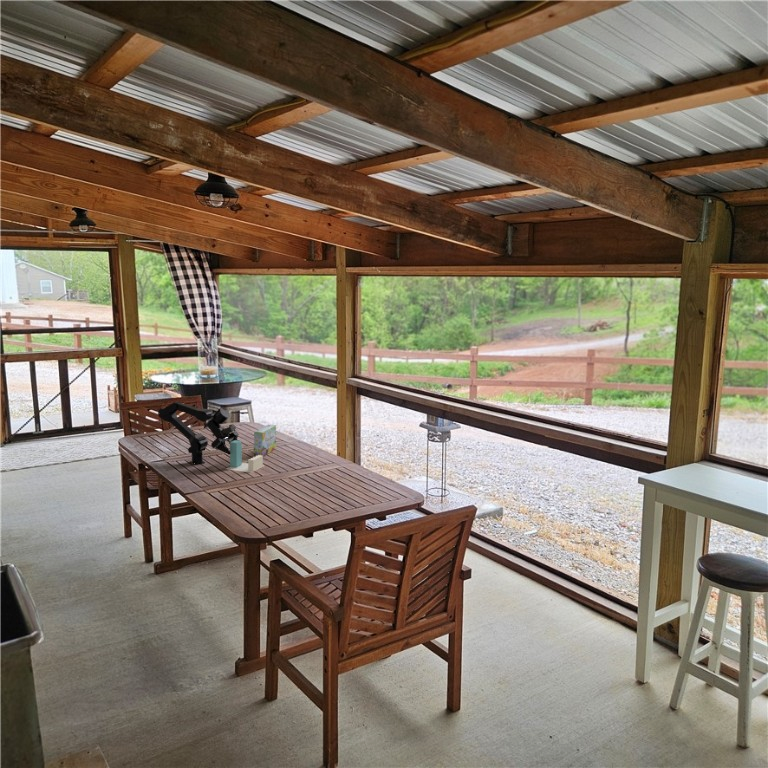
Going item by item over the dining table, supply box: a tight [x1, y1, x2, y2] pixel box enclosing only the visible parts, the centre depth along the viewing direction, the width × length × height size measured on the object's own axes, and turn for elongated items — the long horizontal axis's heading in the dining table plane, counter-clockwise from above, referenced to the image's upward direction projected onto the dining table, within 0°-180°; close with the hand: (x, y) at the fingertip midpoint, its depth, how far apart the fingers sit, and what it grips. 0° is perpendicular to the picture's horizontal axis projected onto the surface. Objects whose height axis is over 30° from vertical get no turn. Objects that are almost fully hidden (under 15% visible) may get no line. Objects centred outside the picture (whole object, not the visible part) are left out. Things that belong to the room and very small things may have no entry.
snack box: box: [253, 424, 277, 458], centre depth 366 cm, size 21×6×15 cm, turn 168°
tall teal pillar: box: [229, 439, 243, 467], centre depth 335 cm, size 4×5×13 cm
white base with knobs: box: [225, 455, 265, 474], centre depth 334 cm, size 15×14×7 cm
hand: (234, 451), depth 335 cm, fingers open, 9 cm apart
